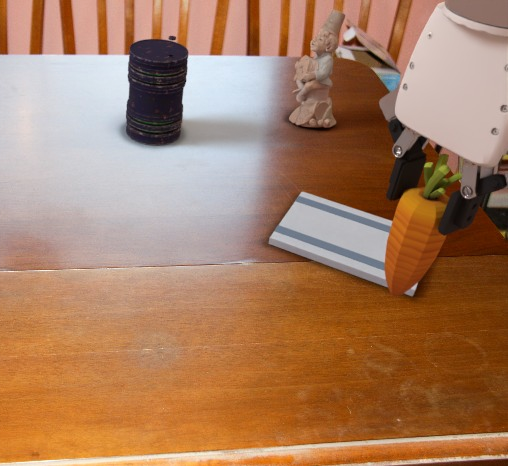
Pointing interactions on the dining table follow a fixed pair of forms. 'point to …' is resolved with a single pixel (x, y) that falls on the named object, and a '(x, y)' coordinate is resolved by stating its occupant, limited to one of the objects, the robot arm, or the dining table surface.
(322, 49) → the figurine
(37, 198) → the dining table surface
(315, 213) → the towel
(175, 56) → the dark blue cylinder
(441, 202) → the carrot
